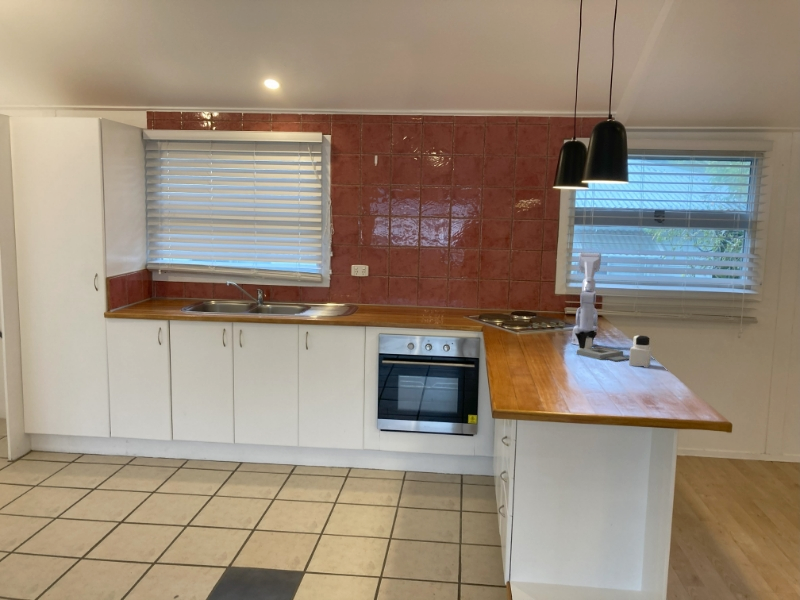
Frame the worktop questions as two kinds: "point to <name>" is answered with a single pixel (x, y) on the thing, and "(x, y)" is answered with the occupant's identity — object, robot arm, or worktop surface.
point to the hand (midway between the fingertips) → (585, 347)
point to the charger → (587, 343)
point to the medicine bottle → (640, 351)
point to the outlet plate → (599, 352)
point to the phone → (617, 358)
